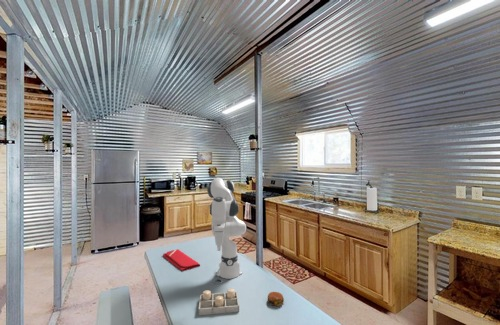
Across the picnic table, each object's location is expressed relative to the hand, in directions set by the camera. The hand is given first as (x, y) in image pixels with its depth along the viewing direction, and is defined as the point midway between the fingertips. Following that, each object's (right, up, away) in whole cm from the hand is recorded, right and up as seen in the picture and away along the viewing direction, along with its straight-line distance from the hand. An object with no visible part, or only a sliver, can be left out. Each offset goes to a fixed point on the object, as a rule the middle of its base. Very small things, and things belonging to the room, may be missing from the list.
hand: (218, 247), depth 143 cm
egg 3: (+8, -31, -3) cm, 31 cm away
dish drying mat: (-40, -33, +58) cm, 78 cm away
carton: (+1, -31, -7) cm, 32 cm away
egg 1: (-7, -31, -5) cm, 31 cm away
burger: (+34, -31, -3) cm, 46 cm away
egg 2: (+2, -30, -11) cm, 32 cm away
